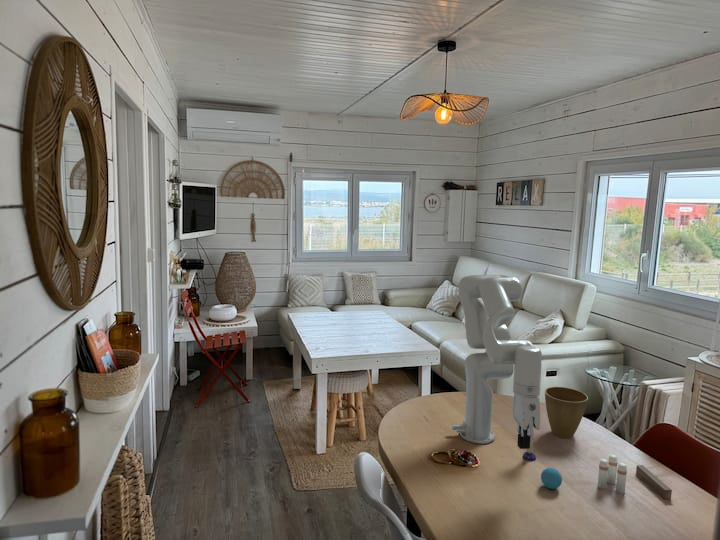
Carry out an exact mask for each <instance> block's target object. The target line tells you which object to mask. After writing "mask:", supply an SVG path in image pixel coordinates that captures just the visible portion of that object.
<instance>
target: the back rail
mask: <svg viewBox="0 0 720 540" xmlns="http://www.w3.org/2000/svg"><path fill="white" fill-rule="evenodd" d="M635 469H636V470H635V475H636V476H637V477H639V478H640V479H641V480H642V481H643V482H644V483H645V484H646V485H647V486H649V487H650V488H651V489H652V490H653V491H654V492H655V493H656V494H658V495H659V496H660V497H661V498H662V499H663V500H668V501H669V500H672V494H673V492H672V491H673V490H672V489H671V487H669V486H668V485H667V484H666V483H664V482H663V481H662V480H661V479H659V478H658V477H657V475H655V474H654V473H653V472H651V471H650V470H649V469H648V468H647V467H646V466H644V465H643V464H641V465H640V464H639V465H637V464H636V468H635Z"/></svg>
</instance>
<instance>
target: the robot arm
mask: <svg viewBox="0 0 720 540" xmlns="http://www.w3.org/2000/svg"><path fill="white" fill-rule="evenodd" d="M457 291H458V298H459V302H460V304H461V307H462V309H463V315H464V325H465V327H464V328H465V336H466V337H465V338H466V341H467V345H468V347H469V348H470V349H474V350H475V349H476V350H485V352H475V353H471V354H469V355H467V357H465V360H464V370H465V379H466V383H465V384H466V386H465V391H466V392H465V412H464V413H465V414H464V421H462V423H460V424H452V425H451V430H452V431H456V433H459V434H460V435H459V436H460V437H461V438H462V439H463V440H465V441H467V442H470V443H473V444H477V445H478V444H481V445H482V444H483V445H485V444H490V443H492V442H494V441H495V438H496V433H495V432H494V431H492V416H493V397H494V393H493V389H492V387H491V385H490V384H489V383H488V380H502V379H503V380H504V379H509V378H511V377H512V376H513V387H512V393H514V394H513V403H512V417H513V420H514V421H515V422H516V424H517V447H518V448H519V449H520V450H527V449H529V448H530V437H531V436H533V437H534V435H535V434H534V429H535V430H536V431H539V430H540V428H541V405H540V395H541V381H542V379H541V377H542V361H543V359H542V358H543V355H542V350H541V349H540V348H538V347H536V346H534V344H533V343H532V342H531V341H529V340H528V339H512V337H511V336H512V335H511V331H510V328H508V326H507V324H508V323H510V322H511V321H512V320H513V319H514V317H515V315H516V312H515V309H514V306H513V304H512V302H518V301H520V299H521V298H522V297H523V292H524V291H523V285H522V283H521V281H520V280H519V279H518V278H517V277H514V276H511V275H510V276H509V275H503V274H475V275H474V274H473V275H465V276H464V277H462V278H461V279H460V280H459V282H458V285H457ZM480 299H481V300H482V301H481V300H480Z"/></svg>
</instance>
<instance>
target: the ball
mask: <svg viewBox="0 0 720 540" xmlns="http://www.w3.org/2000/svg"><path fill="white" fill-rule="evenodd" d="M540 479H541V483H542V484H543V486H545V487H546V488H548V489H550V490H555V489H558V488H560V486H561V485H562V482H563V477H562V474H561V472H559V470H558V469H556V468H554V467H546V468H544V469H543V470H542V471H541V474H540Z"/></svg>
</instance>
